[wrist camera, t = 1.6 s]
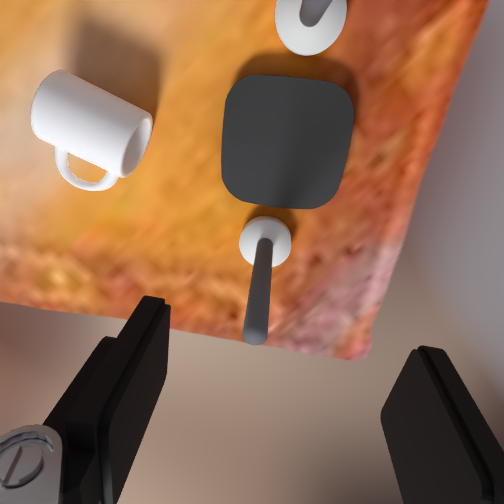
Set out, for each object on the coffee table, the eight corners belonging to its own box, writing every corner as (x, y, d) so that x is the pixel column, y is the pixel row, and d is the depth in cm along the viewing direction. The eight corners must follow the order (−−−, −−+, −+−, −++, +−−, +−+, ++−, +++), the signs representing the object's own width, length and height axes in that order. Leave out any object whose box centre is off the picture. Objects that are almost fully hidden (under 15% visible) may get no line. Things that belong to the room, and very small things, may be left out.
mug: (79, 69, 40) (35, 68, 33) (159, 110, 41) (133, 117, 34) (61, 162, 45) (19, 178, 38) (132, 195, 46) (105, 217, 39)
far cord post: (244, 211, 46) (219, 296, 28) (295, 220, 46) (303, 311, 28) (237, 256, 49) (211, 357, 32) (285, 264, 49) (286, 371, 32)
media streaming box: (229, 70, 39) (224, 69, 36) (358, 83, 38) (363, 84, 36) (222, 193, 46) (218, 201, 43) (331, 206, 45) (334, 214, 42)
